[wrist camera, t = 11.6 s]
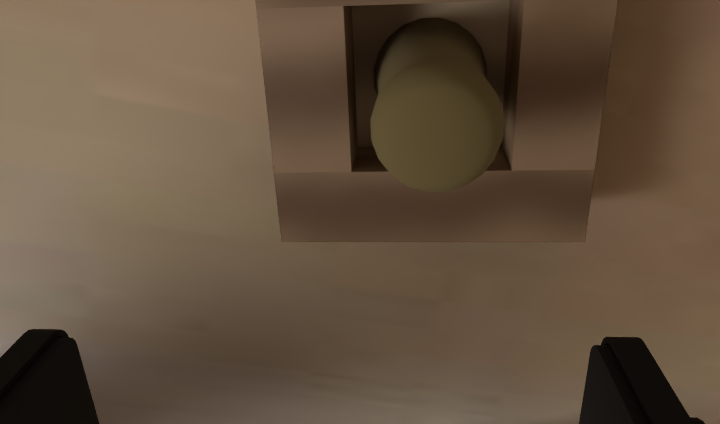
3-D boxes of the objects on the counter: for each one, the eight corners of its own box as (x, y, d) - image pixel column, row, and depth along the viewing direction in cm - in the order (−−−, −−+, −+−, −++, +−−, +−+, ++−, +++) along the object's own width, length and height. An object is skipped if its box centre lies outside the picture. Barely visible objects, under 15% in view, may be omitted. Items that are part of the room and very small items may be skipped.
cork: (508, 48, 31) (555, 102, 21) (453, 148, 33) (471, 238, 23) (403, -4, 30) (400, 26, 20) (355, 102, 32) (330, 175, 22)
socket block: (562, 202, 35) (585, 242, 30) (297, 203, 36) (281, 241, 32) (597, -101, 28) (632, -109, 24) (271, -85, 30) (245, -90, 25)
